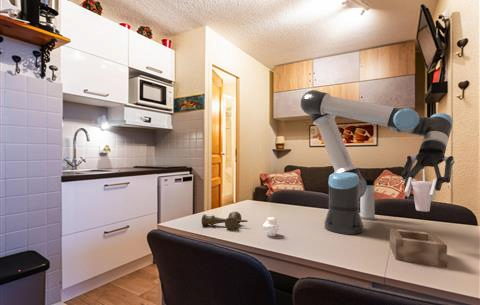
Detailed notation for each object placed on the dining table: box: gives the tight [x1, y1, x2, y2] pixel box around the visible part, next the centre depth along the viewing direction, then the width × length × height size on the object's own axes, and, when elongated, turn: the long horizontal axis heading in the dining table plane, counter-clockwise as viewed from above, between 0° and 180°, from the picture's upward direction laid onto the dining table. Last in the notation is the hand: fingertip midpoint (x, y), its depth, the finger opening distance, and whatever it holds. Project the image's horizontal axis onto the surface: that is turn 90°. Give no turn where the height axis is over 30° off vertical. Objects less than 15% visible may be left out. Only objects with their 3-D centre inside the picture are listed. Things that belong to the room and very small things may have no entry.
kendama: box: [201, 211, 249, 231], centre depth 106 cm, size 6×10×20 cm
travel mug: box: [359, 178, 376, 221], centre depth 122 cm, size 6×7×20 cm
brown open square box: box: [389, 228, 448, 268], centre depth 75 cm, size 12×12×6 cm
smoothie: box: [411, 168, 433, 212], centre depth 84 cm, size 6×6×14 cm
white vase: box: [262, 216, 280, 237], centre depth 94 cm, size 6×6×7 cm
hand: (418, 195), depth 82 cm, fingers closed on smoothie, 6 cm apart
